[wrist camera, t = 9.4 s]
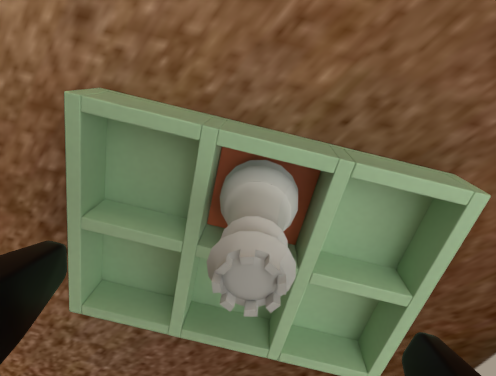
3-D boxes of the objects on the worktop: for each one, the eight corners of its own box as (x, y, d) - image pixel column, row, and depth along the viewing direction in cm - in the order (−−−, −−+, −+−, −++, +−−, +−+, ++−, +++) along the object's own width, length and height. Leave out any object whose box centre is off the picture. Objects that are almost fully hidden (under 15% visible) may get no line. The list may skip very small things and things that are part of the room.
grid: (95, 280, 22) (68, 311, 19) (99, 87, 16) (63, 90, 13) (362, 344, 22) (375, 384, 19) (454, 174, 16) (491, 195, 14)
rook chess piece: (269, 141, 16) (264, 203, 8) (312, 202, 17) (343, 305, 10) (207, 184, 17) (155, 271, 10) (251, 238, 18) (236, 353, 11)
